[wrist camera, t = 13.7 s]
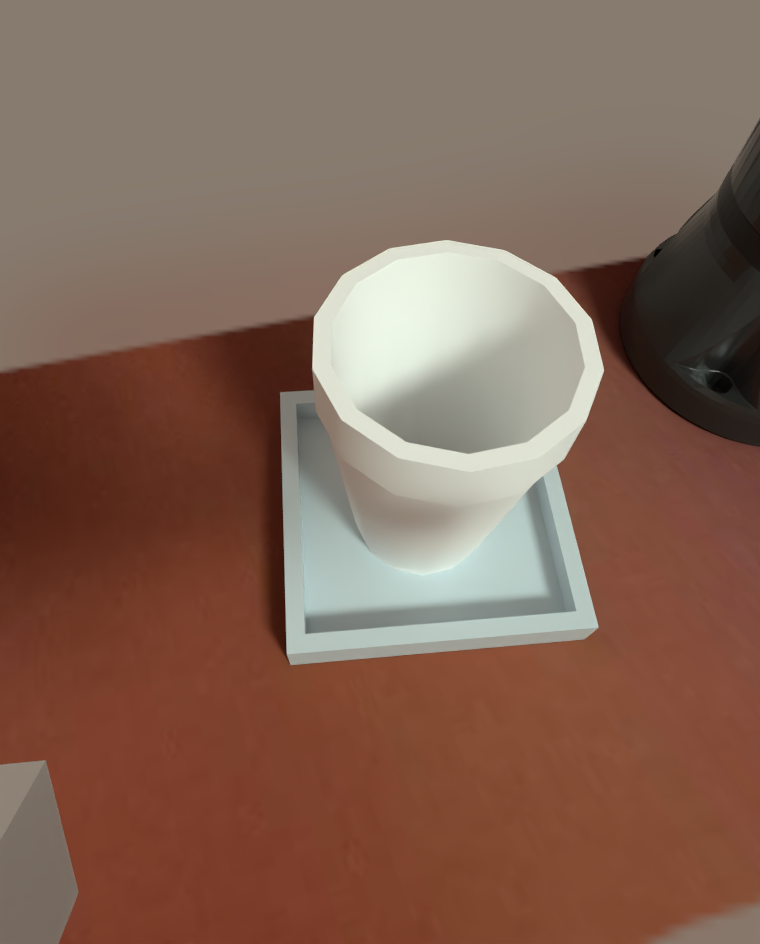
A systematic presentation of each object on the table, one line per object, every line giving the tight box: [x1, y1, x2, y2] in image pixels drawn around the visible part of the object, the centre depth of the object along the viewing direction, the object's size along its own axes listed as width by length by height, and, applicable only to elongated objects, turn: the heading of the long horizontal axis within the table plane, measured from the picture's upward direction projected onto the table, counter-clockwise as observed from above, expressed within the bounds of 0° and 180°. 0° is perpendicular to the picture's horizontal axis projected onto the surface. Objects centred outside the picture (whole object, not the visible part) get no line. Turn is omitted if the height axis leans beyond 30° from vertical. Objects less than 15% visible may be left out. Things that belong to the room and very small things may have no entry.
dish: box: [280, 390, 599, 665], centre depth 32 cm, size 14×14×2 cm
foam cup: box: [312, 240, 604, 575], centre depth 27 cm, size 10×9×13 cm
